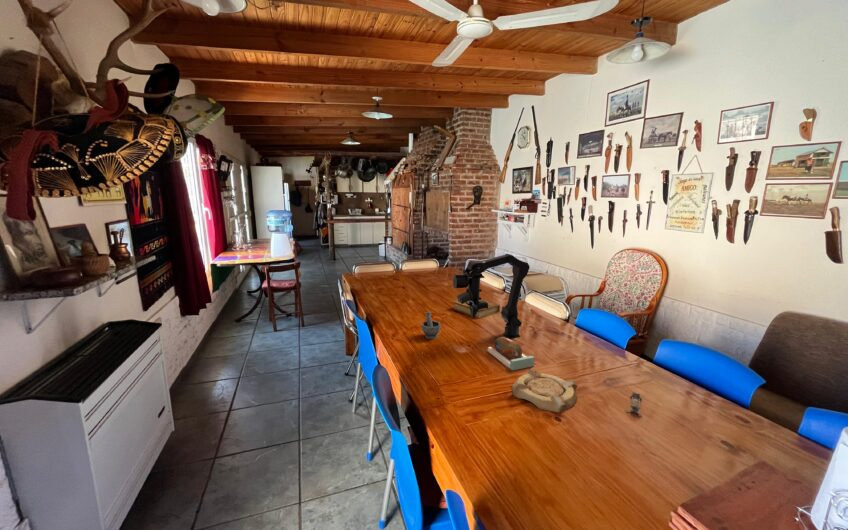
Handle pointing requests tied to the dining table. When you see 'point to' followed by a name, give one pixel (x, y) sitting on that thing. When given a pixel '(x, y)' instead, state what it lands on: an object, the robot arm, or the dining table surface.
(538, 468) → the dining table surface
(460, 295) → the robot arm
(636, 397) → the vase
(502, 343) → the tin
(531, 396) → the ashtray
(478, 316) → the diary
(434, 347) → the dining table surface
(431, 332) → the mortar and pestle
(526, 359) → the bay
